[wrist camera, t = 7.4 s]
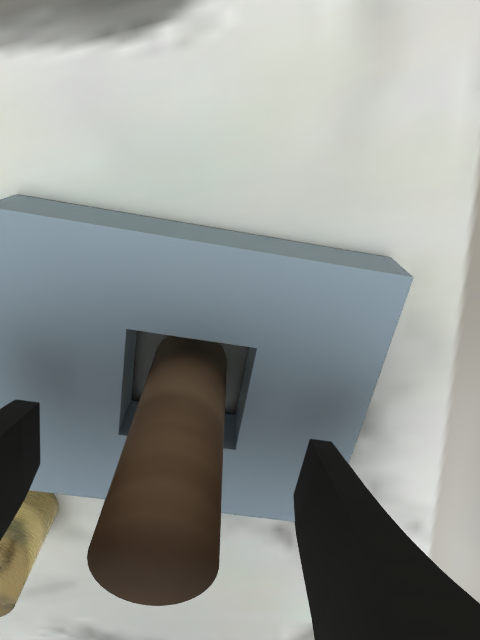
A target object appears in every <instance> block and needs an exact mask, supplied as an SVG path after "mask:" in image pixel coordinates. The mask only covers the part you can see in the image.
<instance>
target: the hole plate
mask: <svg viewBox="0 0 480 640" xmlns="http://www.w3.org/2000/svg"><path fill="white" fill-rule="evenodd" d="M412 280H413V277H412V276H411V275H410V274H409V273H408V272H407V271H406V270H404V269H403V268H402V267H401V266H400V265H399V264H398V263H397V262H395V261H394V260H393V259H392V258H390V257H384V256H378V255H372V254H366V253H360V252H354V251H348V250H342V249H337V248H331V247H325V246H319V245H313V244H307V243H301V242H295V241H289V240H283V239H277V238H271V237H265V236H260V235H254V234H248V233H242V232H236V231H230V230H224V229H218V228H212V227H206V226H200V225H194V224H188V223H183V222H177V221H171V220H165V219H159V218H153V217H147V216H141V215H135V214H129V213H123V212H117V211H111V210H105V209H100V208H94V207H88V206H82V205H76V204H70V203H64V202H58V201H52V200H46V199H40V198H34V197H28V196H23V195H17V194H16V195H13V196H10V197H7V198H4V199H1V200H0V409H1V408H2V407H4V406H5V405H7V404H9V403H10V402H12V401H14V400H15V399H17V400H24V401H32V402H39V403H40V466H39V468H38V471H37V473H36V475H35V478H34V480H33V482H32V485H31V487H30V489H29V490H31V491H40V492H48V493H56V494H65V495H73V496H82V497H90V498H99V499H106V497H107V494H108V491H109V488H110V485H111V482H112V479H113V476H114V473H115V470H116V467H117V465H118V462H119V459H120V456H121V453H122V450H123V447H124V444H125V441H126V438H127V435H128V433H129V430H130V427H131V424H132V421H133V418H134V415H135V412H136V409H137V406H138V403H139V402H138V401H131V397H132V385H133V373H134V362H135V350H136V338H137V331H144V332H151V333H157V334H164V335H171V336H177V337H184V338H191V339H198V340H204V341H211V342H218V343H225V344H231V345H238V346H245V347H249V351H248V356H247V361H246V366H245V371H244V376H243V381H242V386H241V390H240V395H239V400H238V405H237V410H236V415H234V414H226V413H225V416H224V444H223V471H222V498H221V513H225V514H234V515H242V516H251V517H259V518H268V519H276V520H285V521H293V522H295V516H294V497H293V494H294V491H295V488H296V484H297V481H298V477H299V474H300V470H301V467H302V464H303V460H304V457H305V453H306V450H307V447H308V443H309V440H310V439H316V440H324V441H331V442H332V443H333V444H334V445H335V447H336V448H337V449H338V451H339V452H340V453H341V455H342V456H343V457H344V459H345V460H346V461H347V463H349V460H350V457H351V455H352V452H353V449H354V446H355V443H356V440H357V437H358V435H359V432H360V429H361V426H362V423H363V420H364V417H365V415H366V412H367V409H368V406H369V403H370V400H371V397H372V394H373V392H374V389H375V386H376V383H377V380H378V377H379V374H380V372H381V369H382V366H383V363H384V360H385V357H386V354H387V352H388V349H389V346H390V343H391V340H392V337H393V334H394V331H395V329H396V326H397V323H398V320H399V317H400V314H401V311H402V309H403V306H404V303H405V300H406V297H407V294H408V291H409V289H410V286H411V283H412Z"/></svg>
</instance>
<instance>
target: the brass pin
mask: <svg viewBox="0 0 480 640" xmlns="http://www.w3.org/2000/svg"><path fill="white" fill-rule="evenodd" d="M57 512H58V502H57V499H56V497H55V496H54V494H53V493H48V492H40V491H31V490H29V491H28V494H27V496H26V498H25V500H24V502H23V504H22V505H21V507H20V509H19V511H18V512H17V514H16V516H15V517H14V519H13V521H12V522H11V524H10V526H9V528H8V529H7V531H6V533H5V534H4V536H3V538H2V539H1V541H0V617H2V616H4V615H6V614H8V613H9V612H10V611H11V610H12V609H13V608H14V606H15V604H16V602H17V600H18V598H19V595H20V593H21V591H22V589H23V587H24V584H25V582H26V580H27V578H28V576H29V573H30V571H31V569H32V567H33V565H34V562H35V560H36V558H37V556H38V554H39V551H40V549H41V547H42V545H43V543H44V540H45V538H46V536H47V534H48V532H49V530H50V527H51V525H52V523H53V521H54V519H55V516H56V514H57Z"/></svg>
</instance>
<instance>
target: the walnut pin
mask: <svg viewBox="0 0 480 640" xmlns="http://www.w3.org/2000/svg"><path fill="white" fill-rule="evenodd" d="M225 389H226V356H225V353H224V351H223V349H222V347H221V346H220V344H219V343H218V342H211V341H204V340H198V339H191V338H184V337H177V336H171V335H170V336H169V337H167V338H166V339H165V340H163V342H162V343H161V344H160V345H159V347H158V349H157V351H156V354H155V357H154V360H153V363H152V366H151V369H150V371H149V374H148V377H147V380H146V383H145V386H144V389H143V392H142V395H141V398H140V401H139V403H138V406H137V409H136V412H135V415H134V418H133V421H132V424H131V427H130V430H129V433H128V435H127V438H126V441H125V444H124V447H123V450H122V453H121V456H120V459H119V462H118V465H117V467H116V470H115V473H114V476H113V479H112V482H111V485H110V488H109V491H108V494H107V497H106V499H105V502H104V505H103V508H102V511H101V514H100V517H99V520H98V523H97V526H96V529H95V531H94V534H93V537H92V540H91V543H90V546H89V549H88V555H87V560H88V566H89V569H90V571H91V573H92V575H93V577H94V578H95V580H96V581H97V582H98V583H99V584H100V585H101V586H102V587H103V588H104V589H106V590H107V591H108V592H110V593H111V594H113V595H115V596H117V597H119V598H121V599H124V600H126V601H130V602H133V603H137V604H143V605H152V606H163V605H172V604H177V603H182V602H185V601H188V600H190V599H192V598H195V597H196V596H198V595H200V594H201V593H203V592H204V591H205V590H206V589H207V588H208V587H209V586H210V585H211V584H212V583H213V581H214V580H215V578H216V576H217V573H218V570H219V553H220V526H221V498H222V471H223V444H224V416H225Z"/></svg>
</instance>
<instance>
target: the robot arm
mask: <svg viewBox="0 0 480 640" xmlns="http://www.w3.org/2000/svg"><path fill="white" fill-rule="evenodd" d="M39 466H40V403H39V402H32V401H24V400H17V399H15V400H14V401H12V402H10V403H9V404H7V405H5V406H4V407H2V408H1V409H0V541H1V539H2V538H3V536H4V534H5V533H6V531H7V529H8V528H9V526H10V524H11V522H12V521H13V519H14V517H15V516H16V514H17V512H18V511H19V509H20V507H21V505H22V504H23V502H24V500H25V498H26V496H27V494H28V491H29V489H30V487H31V485H32V482H33V480H34V478H35V475H36V473H37V471H38V468H39ZM293 497H294V516H295V529H296V536H297V542H298V548H299V553H300V559H301V564H302V569H303V575H304V580H305V585H306V591H307V596H308V601H309V607H310V612H311V617H312V624H313V630H314V637H315V640H480V604H479V603H478V602H477V601H476V600H475V599H474V598H472V597H471V596H470V595H469V594H468V593H467V592H465V591H464V590H463V589H462V588H461V587H460V586H458V585H457V584H456V583H455V582H454V581H453V580H452V579H451V578H450V577H448V576H447V575H446V574H445V573H444V572H443V571H442V570H441V569H440V568H439V567H438V566H437V565H436V564H435V563H434V562H433V561H432V560H431V559H430V558H429V557H428V556H427V555H426V554H425V553H424V552H423V551H422V550H421V549H420V548H419V547H417V545H416V544H415V543H414V542H413V541H412V540H411V539H410V538H409V537H408V536H407V535H406V534H405V533H404V532H403V530H402V529H401V528H400V527H399V526H398V525H397V524H396V523H395V521H394V520H393V519H392V518H391V517H390V516H389V515H388V514H387V512H386V511H385V510H384V509H383V508H382V506H381V505H380V504H379V503H378V502H377V500H376V499H375V498H374V497H373V495H372V494H371V493H370V492H369V490H368V489H367V488H366V487H365V485H364V484H363V483H362V481H361V480H360V479H359V477H358V476H357V475H356V473H355V472H354V471H353V469H352V468H351V467H350V465H349V464H348V463H347V461H346V460H345V459H344V457H343V456H342V455H341V453H340V452H339V451H338V449H337V448H336V447H335V445H334V444H333V443H332V442H331V441H324V440H316V439H310V440H309V443H308V447H307V450H306V453H305V457H304V460H303V464H302V467H301V470H300V474H299V477H298V481H297V484H296V488H295V491H294V494H293Z"/></svg>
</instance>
